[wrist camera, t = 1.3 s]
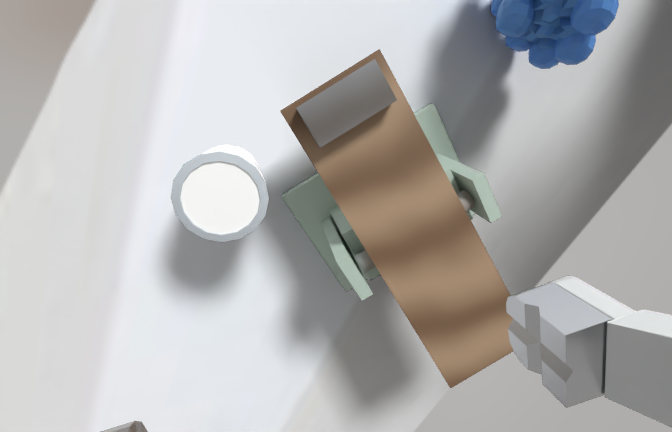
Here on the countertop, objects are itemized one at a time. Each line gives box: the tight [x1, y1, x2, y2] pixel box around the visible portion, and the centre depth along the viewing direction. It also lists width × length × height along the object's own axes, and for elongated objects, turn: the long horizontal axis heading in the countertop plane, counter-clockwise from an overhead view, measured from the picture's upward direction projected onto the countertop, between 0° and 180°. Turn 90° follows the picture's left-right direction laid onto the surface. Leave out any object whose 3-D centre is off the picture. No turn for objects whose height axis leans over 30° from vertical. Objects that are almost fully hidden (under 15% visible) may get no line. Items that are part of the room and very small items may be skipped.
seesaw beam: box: [281, 49, 513, 388], centre depth 29 cm, size 26×10×4 cm, turn 31°
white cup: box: [171, 145, 269, 242], centre depth 31 cm, size 7×7×7 cm
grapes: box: [491, 0, 619, 69], centre depth 28 cm, size 12×7×12 cm, turn 34°
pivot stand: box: [282, 104, 502, 301], centre depth 33 cm, size 16×12×10 cm
